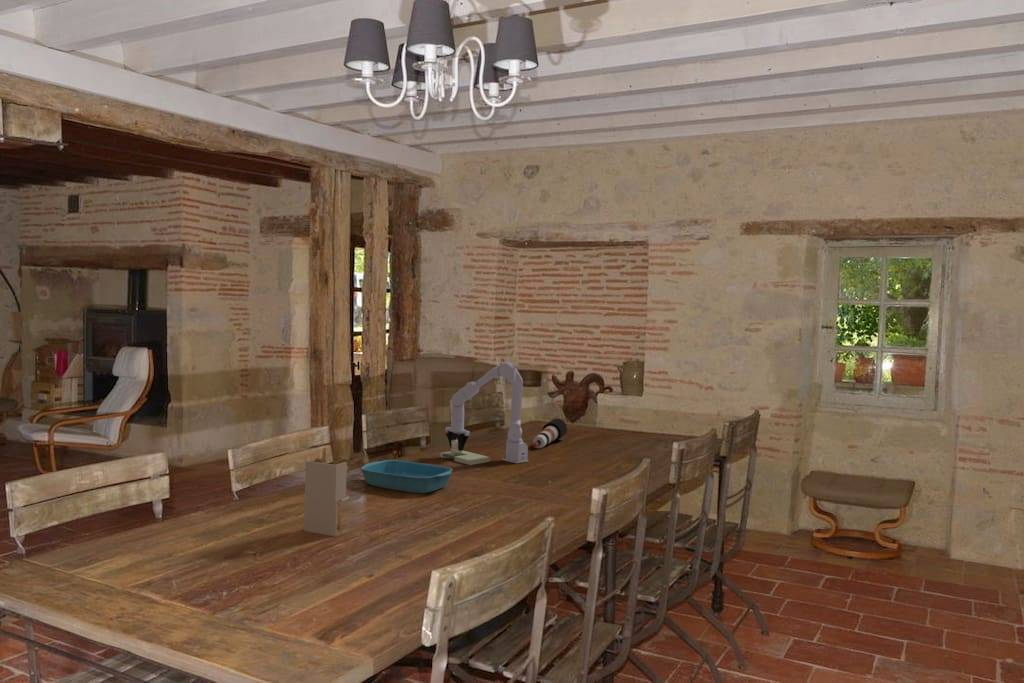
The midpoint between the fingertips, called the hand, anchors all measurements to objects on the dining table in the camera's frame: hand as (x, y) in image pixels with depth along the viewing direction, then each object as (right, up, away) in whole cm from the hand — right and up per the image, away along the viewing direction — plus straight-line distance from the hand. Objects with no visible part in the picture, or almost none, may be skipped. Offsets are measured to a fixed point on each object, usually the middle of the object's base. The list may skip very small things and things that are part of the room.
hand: (456, 449), depth 361 cm
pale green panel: (+4, -4, -2) cm, 6 cm away
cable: (+42, -3, +42) cm, 59 cm away
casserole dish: (-16, -7, -53) cm, 56 cm away
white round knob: (0, -1, 0) cm, 1 cm away
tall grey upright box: (-32, -10, -116) cm, 120 cm away
